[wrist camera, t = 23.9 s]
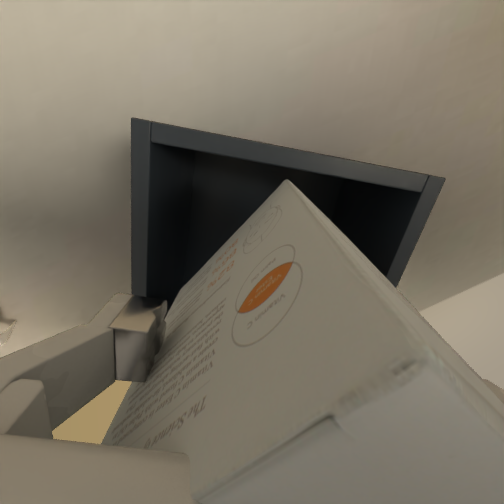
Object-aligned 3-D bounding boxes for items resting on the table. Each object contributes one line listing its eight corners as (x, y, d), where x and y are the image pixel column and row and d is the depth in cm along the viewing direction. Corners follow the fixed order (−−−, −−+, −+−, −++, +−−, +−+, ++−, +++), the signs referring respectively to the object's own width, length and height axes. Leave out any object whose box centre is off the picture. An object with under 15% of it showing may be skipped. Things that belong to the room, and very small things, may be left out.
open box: (188, 128, 20) (130, 116, 10) (355, 160, 21) (446, 178, 11) (176, 296, 26) (131, 390, 16) (306, 315, 27) (338, 415, 17)
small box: (254, 344, 15) (250, 693, 6) (178, 287, 14) (-1, 626, 4) (366, 254, 13) (686, 595, 3) (287, 173, 11) (450, 362, 2)
